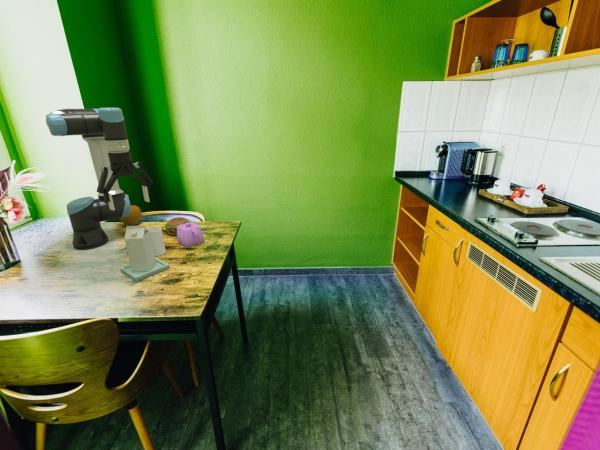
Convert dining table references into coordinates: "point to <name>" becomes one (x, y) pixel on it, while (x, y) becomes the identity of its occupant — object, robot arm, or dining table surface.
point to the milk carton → (139, 248)
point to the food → (175, 225)
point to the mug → (157, 240)
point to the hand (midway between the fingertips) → (130, 205)
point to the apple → (132, 216)
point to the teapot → (189, 234)
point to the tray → (142, 275)
